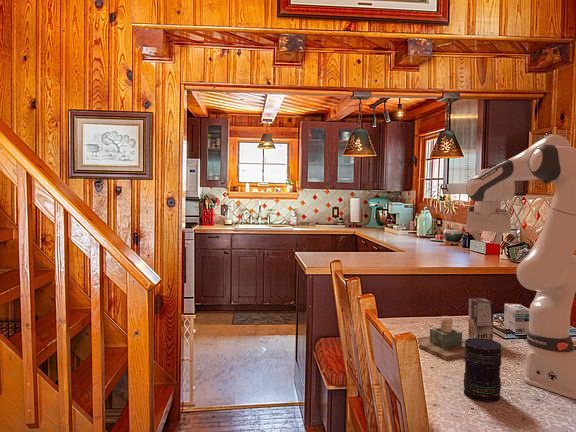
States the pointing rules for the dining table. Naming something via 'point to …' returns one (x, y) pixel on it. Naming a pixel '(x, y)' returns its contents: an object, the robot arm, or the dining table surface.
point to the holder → (443, 344)
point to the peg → (446, 324)
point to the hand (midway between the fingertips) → (487, 242)
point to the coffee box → (481, 318)
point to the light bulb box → (516, 318)
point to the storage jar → (482, 369)
